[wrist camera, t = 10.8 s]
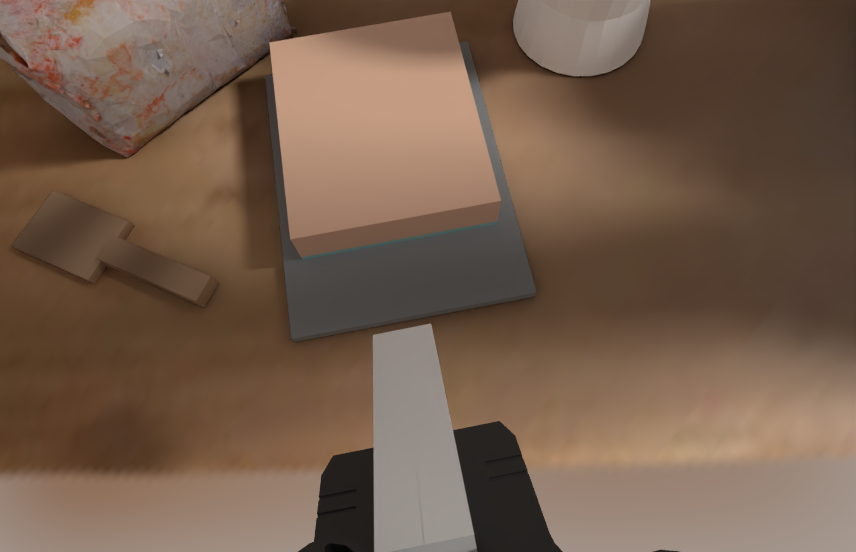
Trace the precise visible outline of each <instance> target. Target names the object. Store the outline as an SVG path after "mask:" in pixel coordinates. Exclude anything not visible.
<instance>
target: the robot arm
mask: <svg viewBox="0 0 856 552" xmlns="http://www.w3.org/2000/svg"><path fill="white" fill-rule="evenodd" d="M373 440H374V448H370V449H365V450H360V451H355V452H350V453H345V454H340V455H334V456H333V457H332V459H331V460H330V462H329V464H328V465H327V467H326V469H325V470H324V472H323V474H322V475H321V484H320V494H319V498H320V500H319V502H318V511H317V514H318V518H317V520H316V529H315V538H314V542H312V543H310V544H308V545H307V546H306V547H304V548H303V549H301V550H300V551H299V552H562V551H561V550H560V548H559V547H558V546H557V545H556V544H555V543H554V541H553V539H552V537H551V535H550V533H549V531H548V528H547V525H546V522H545V519H544V516H543V514H542V511H541V508H540V505H539V502H538V499H537V496H536V494H535V491H534V488H533V485H532V482H531V479H530V477H529V474H528V472H527V468H526V465H525V462H524V460H523V458H522V454H521V451H520V448H519V445H518V443H517V440H516V437H515V435H514V434H513V433H512V432H511V431H510V430H508V429H507V428H506V427H505V426H504V425H503V424H502V423H501V422H500V421H498V422H493V423H488V424H483V425H478V426H473V427H467V428H462V429H457V430H453V428H452V423H451V418H450V413H449V408H448V404H447V399H446V394H445V389H444V384H443V379H442V374H441V369H440V364H439V359H438V354H437V350H436V345H435V340H434V335H433V330H432V325H431V324H426V325H421V326H416V327H411V328H405V329H400V330H395V331H390V332H385V333H380V334H375V335H373ZM654 552H678V551H667V550H658V551H654Z"/></svg>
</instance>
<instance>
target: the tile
mask: <svg viewBox="0 0 856 552" xmlns="http://www.w3.org/2000/svg"><path fill="white" fill-rule="evenodd" d="M269 44H270V53H271V63H272V72H273V82H274V91H275V101H276V110H277V119H278V129H279V138H280V148H281V157H282V167H283V176H284V186H285V195H286V205H287V214H288V224H289V233H290V240H291V242H292V243H293V245H294V246H295V248H296V250H297V251H298V253H299V255H300V256H301V258H302V260H304V259H310V258H315V257H321V256H326V255H331V254H337V253H342V252H348V251H353V250H359V249H364V248H370V247H375V246H380V245H386V244H391V243H397V242H402V241H408V240H413V239H418V238H424V237H429V236H435V235H440V234H446V233H451V232H456V231H462V230H467V229H473V228H478V227H484V226H489V225H494V224H497V223H498V217H499V211H500V205H501V198H500V194H499V191H498V187H497V183H496V179H495V176H494V172H493V168H492V164H491V161H490V157H489V153H488V149H487V146H486V142H485V138H484V134H483V131H482V127H481V123H480V119H479V116H478V112H477V108H476V104H475V101H474V97H473V93H472V89H471V86H470V82H469V78H468V74H467V71H466V67H465V63H464V59H463V56H462V52H461V48H460V44H459V41H458V37H457V33H456V29H455V26H454V22H453V18H452V14H451V12H445V13H439V14H433V15H427V16H421V17H416V18H410V19H404V20H398V21H392V22H386V23H380V24H375V25H369V26H363V27H357V28H351V29H345V30H339V31H334V32H328V33H322V34H316V35H310V36H304V37H298V38H293V39H287V40H281V41H275V42H269Z"/></svg>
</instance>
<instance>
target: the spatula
mask: <svg viewBox="0 0 856 552" xmlns="http://www.w3.org/2000/svg"><path fill="white" fill-rule="evenodd" d="M133 228H134V225H133V224H131V223H130V222H129V221H127V220H125V219H122V218H120V217H118V216H115V215H113V214H110V213H108V212H105V211H103V210H100V209H98V208H96V207H93V206H91V205H88V204H86V203H83V202H81V201H78V200H76V199H74V198H71V197H69V196H66V195H64V194H61V193H59V192H56V191H54V190H53V191H52V193H51V194H50V195H49V197H48V198H47V199H46V201H45V202H44V203H43V205H42V206H41V207H40V209H39V210H38V211H37V213H36V214H35V215H34V217H33V218H32V219H31V220H30V222H29V223H28V224H27V226H26V227H25V228H24V230H23V231H22V232H21V234H20V235H19V236H18V238H17V239H16V240H15V242H14V243H13V244H12V247H13V248H15V249H17V250H19V251H21V252H23V253H26V254H28V255H30V256H32V257H35V258H37V259H39V260H41V261H44V262H46V263H48V264H50V265H53V266H55V267H57V268H59V269H62V270H64V271H66V272H68V273H71V274H73V275H75V276H77V277H80V278H82V279H84V280H86V281H89V282H91V283H93V284H95V283H96V282H97V280H98V279H99V277H100V276H101V275H102V273H103V272H104V270H105V269H106V267H107V266H108V267H111V268H113V269H115V270H118V271H120V272H122V273H125V274H127V275H129V276H132V277H134V278H136V279H139V280H141V281H143V282H145V283H148V284H150V285H152V286H155V287H157V288H159V289H162V290H164V291H166V292H169V293H171V294H173V295H176V296H178V297H180V298H183V299H185V300H187V301H190V302H192V303H194V304H196V305H199V306H201V307H203V308H205V306H206V305H207V303H208V301H209V300H210V298H211V296H212V295H213V293H214V291H215V290H216V288H217V286H218V285H219V283H218V282H216V281H215V280H214V279H213V278H212V277H211V276H209V275H206V274H204V273H202V272H199V271H197V270H194V269H192V268H190V267H187V266H185V265H182V264H180V263H178V262H175V261H173V260H171V259H168V258H166V257H163V256H161V255H159V254H156V253H154V252H151V251H149V250H147V249H144V248H142V247H139V246H137V245H135V244H132V243H130V242H127V241H125V239H126V238H127V236H128V235H129V233H130V232H131V230H132V229H133Z"/></svg>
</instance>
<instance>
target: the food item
mask: <svg viewBox="0 0 856 552" xmlns="http://www.w3.org/2000/svg"><path fill="white" fill-rule="evenodd" d="M294 33H296V26H291V23H290V21H289V18H288V16H287V9H286V4H285V1H284V0H0V59H2V60H4V61H6V62H7V63H9V64H11V66H12V67H13V70H14V71H15V72H16V74H18V75H19V76H21V77H22V78H24V79H25V81H26V82H27V83H28V84H29V85H30V86H31V87H32V88H33V89H34V90H35V91H36V92H37V93H38V94H39V95H40V96H41V97H42V98H43V99H44V100H45V101H46V102H48V103H49V104H50V105H52V106H53V107H54V108H55V109H57V110H58V111H59V112H61V113H62V114H63V115H64V116H66V117H67V118H68V119H69V120H70V121H71V122H73V123H74V124H75V125H77V126H78V127H79V128H80V129H82V130H83V131H84V132H86V133H87V134H88V135H89V136H91V137H92V138H93V139H95V140H96V141H98V142H99V143H100V144H102V145H104V146H105V147H107V148H109V149H111V150H113V151H115V152H117V153H119V154H121V155H123V156H125V157H129V156H131V155H133V154H135V153H136V152H137V151H138V150H139V149H140V148H141V147H143V146H144V145H145V144H146V143H147V142H149V141H150V140H151V139H153V138H154V137H155V136H156V135H158V134H159V133H160V132H162V131H163V130H164V129H166V128H167V127H168V126H170V125H171V124H172V123H173V122H174V121H175V120H177V119H178V118H179V117H181V116H182V115H183V114H184V113H185V112H187V111H189V110H191V109H193V108H194V107H195V106H196V105H198V104H199V103H200V102H201V101H202V100H204V99H205V98H206V97H208V96H209V95H211V94H212V93H213V92H214V91H215V90H216V89H218V88H220V87H221V86H223V85H225V84H226V83H228V82H229V81H231V80H232V79H234V78H235V77H236V76H238V75H239V74H241V73H242V72H244V71H245V70H246V69H248V68H249V67H250V66H252V65H253V64H255V63H256V62H257V61H258V59H259V58H261V57H263V56H264V55H266V54H267V53H268V52H270V44H269V42H275V41H281V40H287V39H289V38H290V37H291V36H292V35H293V34H294ZM296 34H297V33H296Z"/></svg>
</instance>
